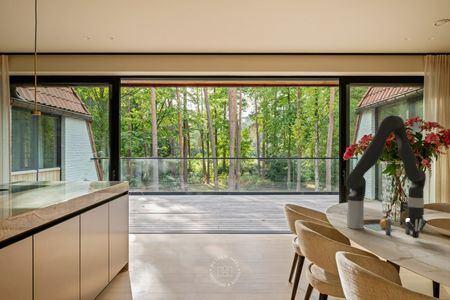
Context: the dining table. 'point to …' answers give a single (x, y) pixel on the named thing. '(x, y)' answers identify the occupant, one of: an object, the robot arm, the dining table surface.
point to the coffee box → (403, 212)
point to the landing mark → (376, 227)
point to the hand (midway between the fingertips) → (415, 237)
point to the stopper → (371, 221)
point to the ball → (383, 223)
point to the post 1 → (388, 226)
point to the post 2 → (407, 229)
